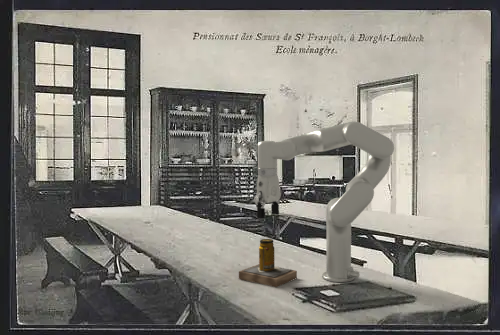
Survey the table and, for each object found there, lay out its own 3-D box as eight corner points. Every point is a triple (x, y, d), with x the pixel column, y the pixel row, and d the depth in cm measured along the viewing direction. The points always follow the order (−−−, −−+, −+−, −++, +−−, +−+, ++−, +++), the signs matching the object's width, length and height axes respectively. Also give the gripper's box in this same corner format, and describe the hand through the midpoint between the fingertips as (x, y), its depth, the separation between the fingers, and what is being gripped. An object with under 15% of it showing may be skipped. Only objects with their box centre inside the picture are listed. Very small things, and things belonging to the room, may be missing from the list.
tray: (296, 278, 220) (296, 269, 220) (276, 287, 209) (276, 278, 209) (260, 270, 231) (259, 262, 231) (238, 278, 220) (238, 270, 219)
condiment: (257, 267, 223) (257, 238, 222) (278, 267, 224) (278, 237, 223) (259, 272, 216) (259, 242, 215) (281, 272, 217) (281, 241, 216)
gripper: (262, 175, 208) (263, 220, 210) (287, 171, 222) (288, 213, 224) (246, 174, 212) (247, 218, 214) (272, 170, 226) (272, 212, 228)
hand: (268, 216), depth 219 cm, fingers open, 9 cm apart
